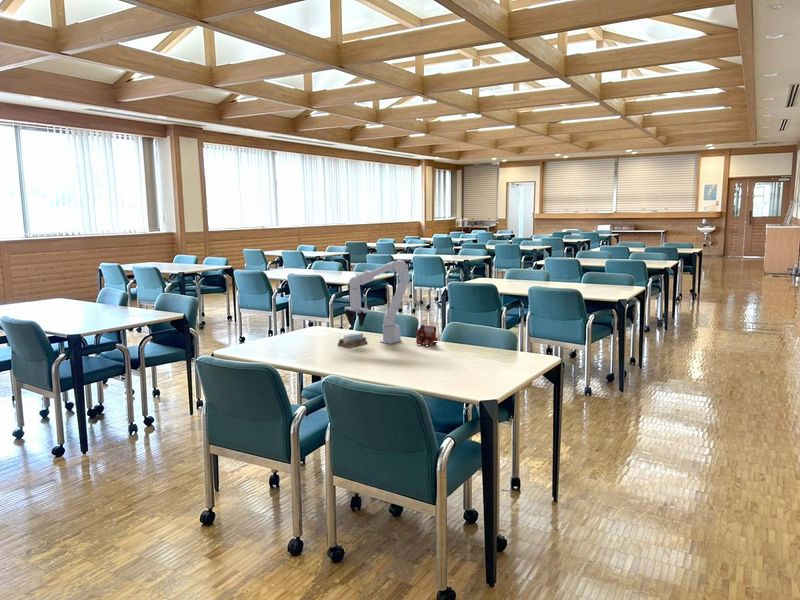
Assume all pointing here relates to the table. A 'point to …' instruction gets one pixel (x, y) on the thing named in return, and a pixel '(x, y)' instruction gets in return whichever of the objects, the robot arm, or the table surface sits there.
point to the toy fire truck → (426, 335)
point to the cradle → (353, 342)
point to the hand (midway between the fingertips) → (356, 324)
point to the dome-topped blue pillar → (352, 337)
